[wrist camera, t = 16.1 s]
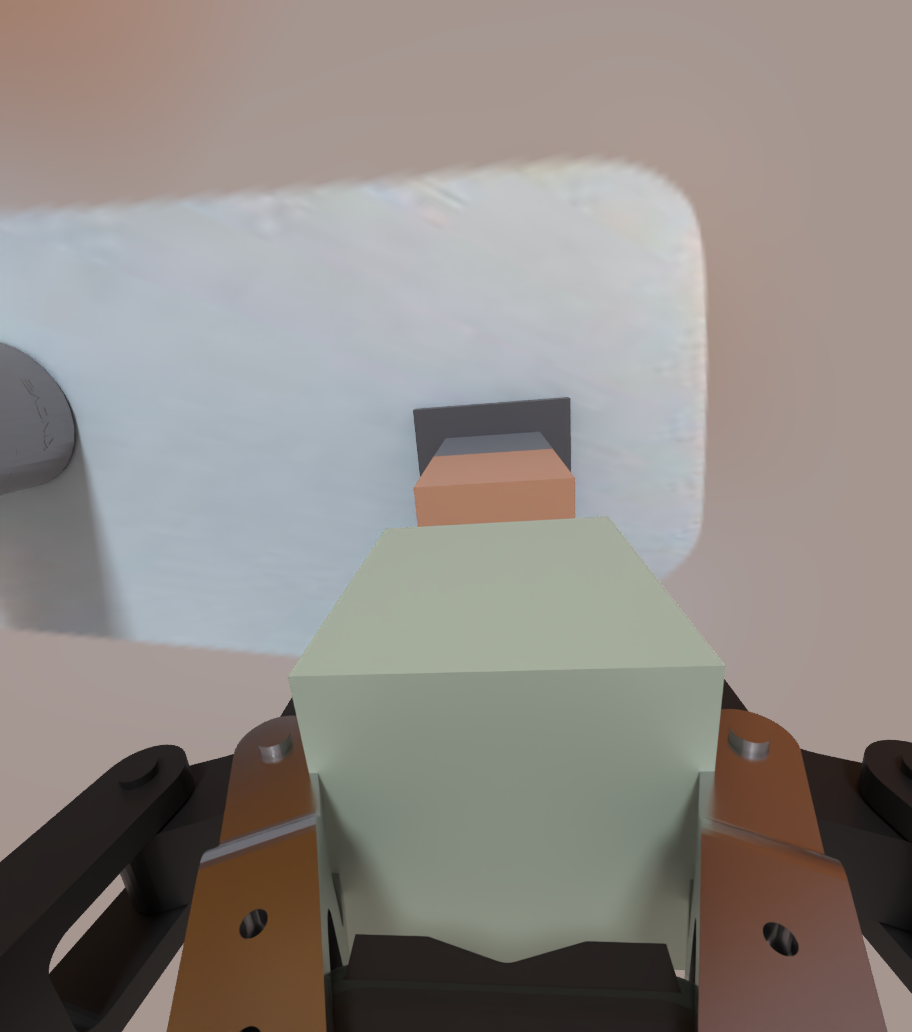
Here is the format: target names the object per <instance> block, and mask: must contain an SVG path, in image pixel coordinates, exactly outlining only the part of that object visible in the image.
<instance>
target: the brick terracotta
mask: <svg viewBox="0 0 912 1032" xmlns="http://www.w3.org/2000/svg"><path fill="white" fill-rule="evenodd" d="M414 495H415V504H416V514H417V523H418V527H424V526H442V525H460V524H479V523H497V522H515V521H534V520H552V519H571V518H575V477H574V476H573V475H572V473H571V472H570V471H569V469H568V468H567V467H566V466H565V464H564V463H563V462H562V460H561V459H560V458H559V456H558V455H557V454H556V453H555V451H554V450H553V449H540V450H525V451H510V452H495V453H480V454H465V455H450V456H435V457H433V458H432V460H431V461H430V463H429V465H428V466H427V468H426V469H425V471H424V472H423V474H422V475H421V477H420V479H419V480H418V482H417V483H416V485H415V486H414Z"/></svg>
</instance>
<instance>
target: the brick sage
mask: <svg viewBox="0 0 912 1032" xmlns="http://www.w3.org/2000/svg"><path fill="white" fill-rule="evenodd" d="M724 674H725V665H724V663H723V662H722V661H721V659H720V658H719V657H718V656H717V655H716V653H715V652H714V651H713V649H712V648H711V647H710V645H709V644H708V643H707V642H706V640H705V639H704V638H703V637H702V635H701V634H700V633H699V631H698V630H697V629H696V628H695V626H694V625H693V624H692V622H690V620H689V619H688V617H687V616H686V615H685V614H684V612H683V611H682V610H681V609H680V607H679V606H678V605H677V603H676V602H675V601H674V600H673V598H672V597H671V596H670V594H669V593H668V592H667V591H666V589H665V588H664V587H663V586H662V584H661V583H660V582H659V580H658V579H657V578H656V577H655V575H654V574H653V573H652V572H651V570H650V569H649V568H648V566H647V565H646V564H645V563H644V561H643V560H642V559H641V557H640V556H639V555H638V554H637V552H636V551H635V550H634V549H633V547H632V546H631V545H630V543H629V542H628V541H627V540H626V538H625V537H624V536H623V535H622V533H621V532H620V531H619V529H618V528H617V527H616V526H615V524H614V523H613V522H612V521H611V519H610V518H609V517H608V516H607V517H589V518H571V519H552V520H534V521H515V522H497V523H479V524H460V525H442V526H424V527H405V528H387V529H385V531H384V532H383V534H382V535H381V537H380V538H379V540H378V541H377V543H376V544H375V546H374V547H373V549H372V550H371V552H370V553H369V555H368V556H367V558H366V559H365V561H364V562H363V564H362V565H361V567H360V568H359V570H358V571H357V573H356V574H355V576H354V577H353V579H352V580H351V582H350V583H349V585H348V587H347V588H346V590H345V591H344V593H343V594H342V596H341V597H340V599H339V600H338V602H337V603H336V605H335V606H334V608H333V609H332V611H331V612H330V614H329V615H328V617H327V618H326V620H325V621H324V623H323V624H322V626H321V627H320V629H319V630H318V632H317V633H316V635H315V636H314V638H313V639H312V641H311V642H310V644H309V645H308V647H307V648H306V650H305V651H304V653H303V654H302V656H301V657H300V659H299V660H298V662H297V663H296V665H295V667H294V668H293V670H292V671H291V673H290V674H289V676H288V679H289V684H290V689H291V693H292V698H293V702H294V707H295V711H296V716H297V721H298V725H299V730H300V734H301V739H302V743H303V748H304V753H305V757H306V762H307V766H308V771H309V773H318V776H319V780H320V785H321V790H322V795H323V803H324V817H325V831H326V843H327V851H328V859H329V865H330V871H331V873H339V875H340V880H341V885H342V889H343V894H344V904H345V914H346V925H347V935H348V944H349V952H350V954H351V950H352V946H353V942H354V938H355V934H368V935H401V936H429V937H431V938H434V939H437V940H440V941H443V942H446V943H448V944H451V945H454V946H457V947H460V948H462V949H465V950H468V951H471V952H474V953H476V954H479V955H482V956H485V957H488V958H491V959H493V960H496V961H499V962H504V963H511V962H516V961H519V960H523V959H526V958H530V957H533V956H537V955H540V954H544V953H547V952H550V951H554V950H557V949H561V948H564V947H568V946H571V945H575V944H578V943H582V942H585V941H597V942H630V943H663V944H666V945H667V948H668V951H669V954H670V958H671V961H672V964H673V968H674V970H685V963H686V940H687V914H688V896H689V885H690V879H694V875H695V860H696V835H697V798H698V787H699V776H700V771H715V763H716V753H717V743H718V734H719V724H720V714H721V704H722V694H723V684H724Z"/></svg>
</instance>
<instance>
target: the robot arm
mask: <svg viewBox="0 0 912 1032" xmlns="http://www.w3.org/2000/svg"><path fill="white" fill-rule="evenodd" d="M73 446H74V423H73V419H72V414H71V410H70V408H69V406H68V403H67V401H66V398H65V396H64V394H63V393H62V391H61V389H60V388H59V386H58V385H57V383H56V381H55V380H54V379H53V378H52V377H51V376H50V374H49V373H48V372H47V371H46V370H45V369H44V368H43V367H42V366H41V365H40V364H39V363H37V362H36V361H35V360H34V359H33V358H31V357H30V356H29V355H27V354H25V353H23V352H22V351H20V350H18V349H17V348H15V347H12V346H9V345H6V344H3V343H1V342H0V495H2V494H6V493H9V492H13V491H17V490H21V489H25V488H29V487H32V486H36V485H39V484H43V483H46V482H48V481H50V480H52V479H53V478H55V477H56V476H58V475H59V474H60V473H61V471H62V470H63V469H64V468H65V467H66V465H67V463H68V461H69V459H70V457H71V455H72V451H73ZM119 874H120V875H121V877H122V880H123V882H124V885H125V888H124V890H123V891H122V892H121V893H120V894H119V895H118V897H116V899H115V900H114V901H113V902H112V903H111V904H110V905H109V907H108V908H107V909H106V910H105V911H104V912H103V913H102V915H101V916H100V917H99V918H98V919H97V920H96V921H95V923H94V924H93V925H92V926H91V927H90V928H89V929H88V930H87V932H86V933H85V934H84V935H83V936H82V937H81V938H80V940H79V941H78V942H77V943H76V944H75V945H74V947H72V949H71V950H70V951H69V952H68V953H67V954H66V955H65V957H64V958H63V959H62V960H61V961H60V962H59V963H58V964H57V966H56V967H55V968H54V969H53V970H52V971H51V972H50V974H49V964H50V961H51V958H52V955H53V953H54V951H55V949H56V947H57V945H58V943H59V941H60V940H61V939H62V937H63V935H64V934H65V933H66V932H67V931H68V929H69V928H70V927H71V926H72V925H73V924H74V923H75V922H76V921H77V919H78V918H79V917H80V916H81V915H82V914H83V913H84V912H85V911H86V910H87V908H89V906H90V905H91V904H92V903H93V902H94V901H95V900H96V899H97V898H98V896H100V894H101V893H102V892H103V891H104V890H105V889H106V888H107V887H108V886H109V884H111V882H112V881H113V880H114V879H115V878H116V877H117V876H118V875H119ZM862 934H863V935H864V937H865V938H866V939H867V940H868V941H869V943H870V944H871V945H872V946H873V947H874V949H875V950H876V951H877V952H878V954H879V955H880V956H881V957H882V958H883V960H884V961H885V962H886V963H887V964H888V966H889V967H890V968H891V969H892V970H893V972H895V974H896V975H897V976H898V978H899V979H900V980H901V981H902V982H903V984H904V985H905V986H906V987H907V988H908V990H909V991H910V992H911V993H912V743H910V742H906V741H899V740H882V741H877V742H874V743H872V744H870V745H869V746H868V747H867V748H866V750H865V753H864V758H863V762H862V763H859V762H855V761H850V760H845V759H841V758H836V757H831V756H826V755H821V754H817V753H813V752H810V751H806V750H803V749H800V747H799V745H798V743H797V742H796V740H795V739H794V738H793V736H792V735H791V734H790V733H789V732H788V731H787V730H785V729H784V728H783V727H781V726H780V725H778V724H777V723H775V722H774V721H772V720H770V719H768V718H766V717H763V716H761V715H758V714H755V713H752V712H749V711H748V710H747V709H746V708H745V706H744V705H743V703H742V702H741V701H740V699H739V698H738V697H737V695H736V694H735V693H734V691H733V690H732V689H731V687H730V686H729V685H728V683H727V682H726V681H725V679H724V684H723V694H722V704H721V714H720V724H719V734H718V743H717V753H716V763H715V771H700V776H699V787H698V798H697V835H696V860H695V875H694V879H690V885H689V896H688V914H687V940H686V963H685V979H682V978H680V977H677V976H676V974H675V971H674V968H673V964H672V961H671V958H670V954H669V951H668V948H667V945H666V944H663V943H630V942H597V941H585V942H582V943H578V944H575V945H571V946H568V947H564V948H561V949H557V950H554V951H550V952H547V953H544V954H540V955H537V956H533V957H530V958H526V959H523V960H519V961H516V962H511V963H504V962H499V961H496V960H493V959H491V958H488V957H485V956H482V955H479V954H476V953H474V952H471V951H468V950H465V949H462V948H460V947H457V946H454V945H451V944H448V943H446V942H443V941H440V940H437V939H434V938H431V937H429V936H401V935H368V934H355V938H354V942H353V946H352V950H351V954H350V952H349V944H348V935H347V925H346V914H345V904H344V894H343V889H342V885H341V880H340V875H339V873H331V871H330V865H329V859H328V851H327V843H326V831H325V817H324V803H323V795H322V790H321V785H320V780H319V776H318V773H309V771H308V766H307V762H306V757H305V753H304V748H303V743H302V739H301V734H300V730H299V725H298V721H297V716H296V711H295V707H294V702H293V698H291V700H290V701H289V703H288V705H287V706H286V708H285V710H284V711H283V713H282V715H281V716H280V717H278V718H274V719H271V720H269V721H266V722H264V723H262V724H260V725H259V726H257V727H255V728H254V729H252V730H251V731H250V732H249V733H247V734H246V735H245V736H244V737H243V738H242V739H241V741H240V742H239V744H238V745H237V747H236V749H235V752H234V754H232V755H229V756H226V757H222V758H218V759H214V760H210V761H206V762H202V763H198V764H194V765H191V766H189V764H188V760H187V757H186V754H185V752H184V751H183V749H182V748H180V747H178V746H175V745H159V746H154V747H151V748H147V749H144V750H141V751H139V752H137V753H134V754H132V755H130V756H128V757H127V758H125V759H123V760H122V761H120V762H119V763H117V764H116V765H114V766H113V767H112V768H111V769H109V770H108V771H107V772H106V773H104V774H103V775H102V776H101V777H100V778H99V779H97V780H96V781H95V782H94V783H93V784H92V785H90V786H89V787H88V788H87V789H86V790H85V791H83V792H82V793H81V794H80V795H79V796H77V797H76V798H75V799H74V800H73V801H72V802H70V803H69V804H68V805H67V806H66V807H65V808H63V809H62V810H61V811H60V812H59V813H57V814H56V816H54V817H53V818H52V819H50V820H49V821H48V822H47V823H46V824H45V825H43V826H42V827H41V828H40V829H39V830H37V831H36V832H35V833H34V834H33V835H32V836H30V837H29V838H28V839H27V840H26V841H25V842H23V843H22V844H21V845H20V846H19V847H18V848H16V849H15V850H14V851H13V852H12V853H11V854H9V855H8V856H7V857H6V858H5V859H3V860H2V861H1V862H0V1032H122V1031H123V1029H124V1027H125V1026H126V1025H127V1023H128V1022H129V1020H130V1019H131V1018H132V1016H133V1015H134V1013H135V1012H136V1010H137V1009H138V1007H139V1006H140V1005H141V1003H142V1002H143V1000H144V999H145V998H146V996H147V995H148V993H149V992H150V990H151V989H152V987H153V986H154V985H155V983H156V982H157V980H158V979H159V977H160V976H161V974H162V973H163V972H164V970H165V969H166V967H167V966H168V965H169V963H170V962H171V960H172V959H173V957H174V956H175V955H176V953H177V952H178V950H179V949H180V947H181V946H182V945H183V943H184V945H183V951H182V956H181V961H180V966H179V971H178V976H177V981H176V986H175V992H174V996H173V1001H172V1007H171V1012H170V1017H169V1022H168V1027H167V1032H887V1028H886V1025H885V1020H884V1016H883V1013H882V1009H881V1005H880V1002H879V997H878V993H877V990H876V986H875V982H874V978H873V975H872V971H871V967H870V963H869V959H868V956H867V952H866V948H865V944H864V941H863V936H862Z"/></svg>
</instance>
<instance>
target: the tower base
mask: <svg viewBox="0 0 912 1032" xmlns="http://www.w3.org/2000/svg"><path fill="white" fill-rule="evenodd" d="M413 413H414V423H415V432H416V442H417V452H418V461H419V471H420V477H421V475H422V474H423V472H424V471H425V469H426V468H427V466H428V465H429V463H430V461H431V460H432V458H433V457H435V456H450V455H465V454H480V453H495V452H510V451H525V450H540V449H553V450H554V451H555V453H556V454H557V455H558V456H559V458H560V459H561V460H562V462H563V463H564V464H565V466H566V467H567V468H568V469H569V471H570V472H571V436H570V398H568V397H564V398H551V399H538V400H525V401H512V402H499V403H486V404H473V405H460V406H447V407H434V408H421V409H415V410H413Z"/></svg>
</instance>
